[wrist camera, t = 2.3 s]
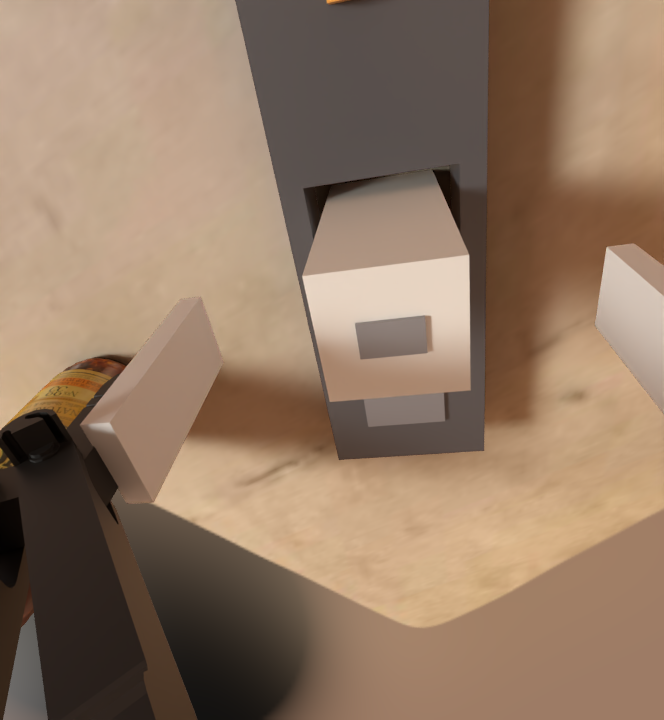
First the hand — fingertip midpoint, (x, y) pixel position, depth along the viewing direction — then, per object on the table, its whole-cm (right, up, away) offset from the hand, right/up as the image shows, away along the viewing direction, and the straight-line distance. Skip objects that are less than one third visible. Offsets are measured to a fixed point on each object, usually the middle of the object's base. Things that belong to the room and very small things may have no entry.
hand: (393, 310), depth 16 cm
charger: (+1, +5, +6) cm, 8 cm away
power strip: (0, +6, +5) cm, 8 cm away
